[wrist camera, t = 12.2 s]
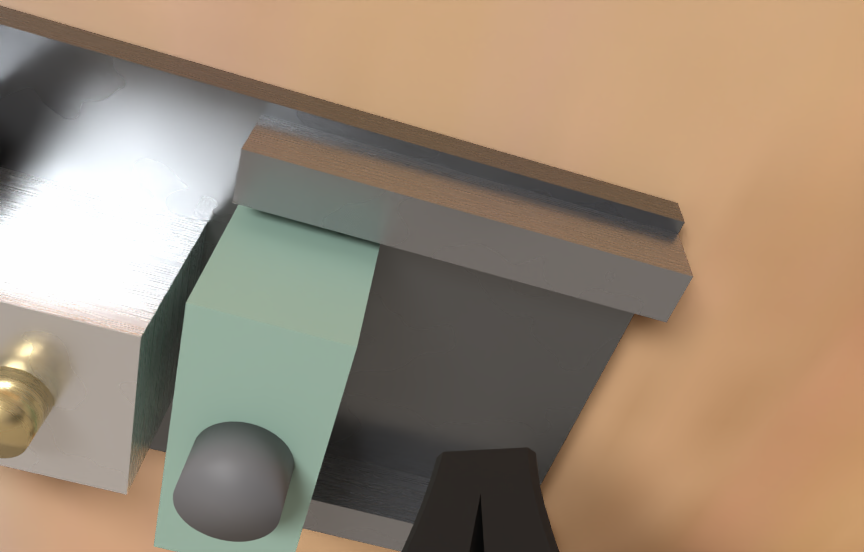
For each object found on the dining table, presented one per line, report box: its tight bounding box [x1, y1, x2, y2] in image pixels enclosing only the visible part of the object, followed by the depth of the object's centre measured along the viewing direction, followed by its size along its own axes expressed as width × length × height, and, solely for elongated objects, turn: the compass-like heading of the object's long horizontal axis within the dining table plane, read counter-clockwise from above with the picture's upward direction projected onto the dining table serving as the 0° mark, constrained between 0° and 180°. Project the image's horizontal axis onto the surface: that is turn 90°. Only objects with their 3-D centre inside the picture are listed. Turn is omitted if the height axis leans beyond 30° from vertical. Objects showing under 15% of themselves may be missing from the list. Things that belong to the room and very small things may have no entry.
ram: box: [154, 205, 380, 552], centre depth 17 cm, size 3×7×5 cm, turn 164°
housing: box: [0, 167, 207, 495], centre depth 17 cm, size 4×4×5 cm
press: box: [0, 6, 693, 551], centre depth 17 cm, size 18×11×6 cm, turn 74°
